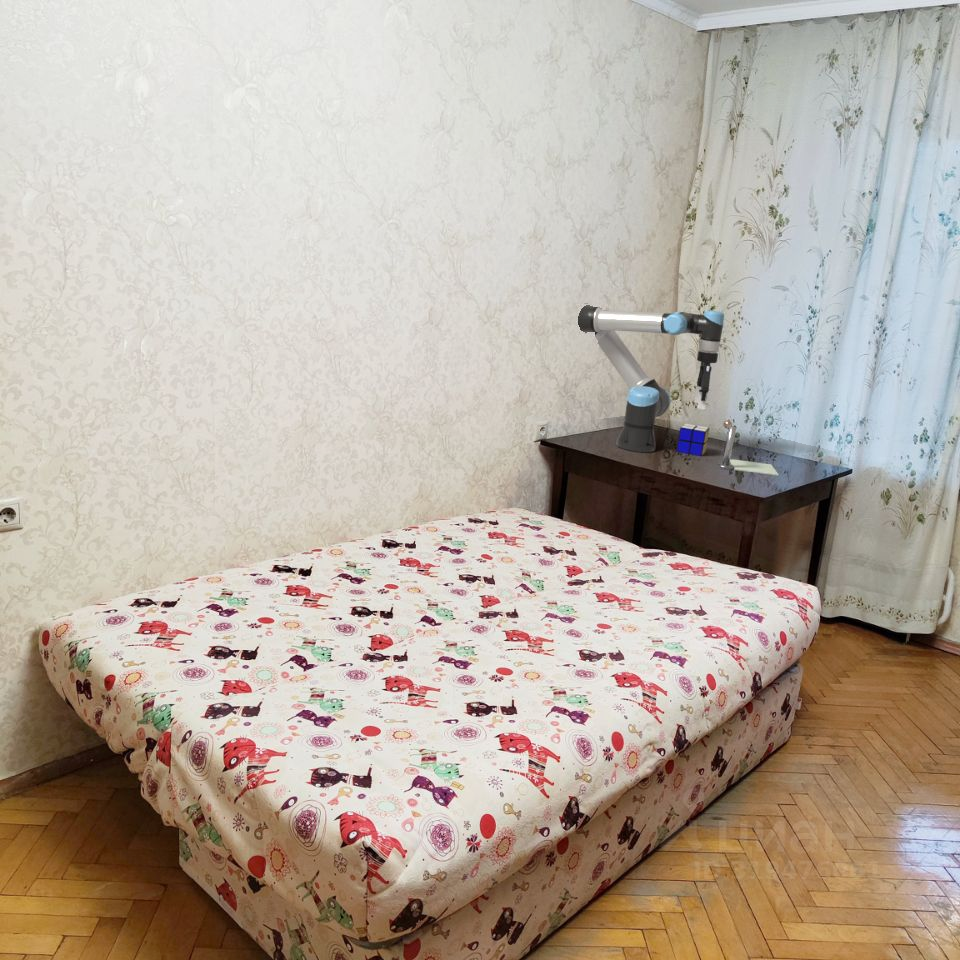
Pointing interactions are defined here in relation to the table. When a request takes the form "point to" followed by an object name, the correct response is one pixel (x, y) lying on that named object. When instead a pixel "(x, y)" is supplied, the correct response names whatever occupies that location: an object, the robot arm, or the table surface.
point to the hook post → (728, 446)
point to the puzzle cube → (692, 439)
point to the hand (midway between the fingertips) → (699, 406)
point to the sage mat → (753, 467)
